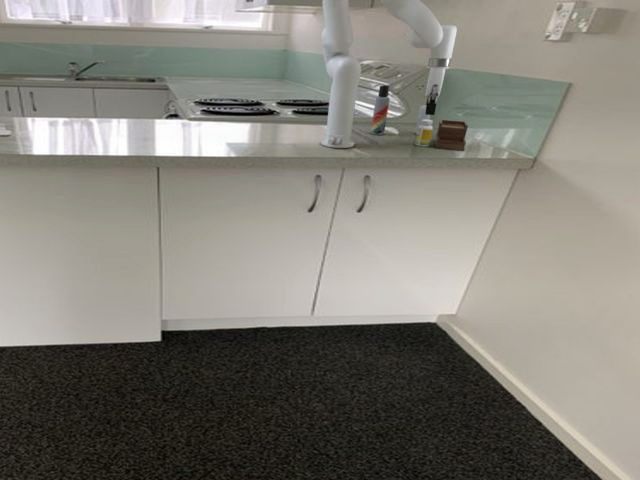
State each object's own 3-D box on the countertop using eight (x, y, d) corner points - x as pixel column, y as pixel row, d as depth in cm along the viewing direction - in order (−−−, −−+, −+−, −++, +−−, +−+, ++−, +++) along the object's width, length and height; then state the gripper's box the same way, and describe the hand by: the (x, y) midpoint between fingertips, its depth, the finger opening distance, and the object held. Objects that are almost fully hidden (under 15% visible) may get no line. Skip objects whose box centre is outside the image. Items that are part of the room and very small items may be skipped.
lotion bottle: (376, 135, 181) (384, 86, 172) (367, 133, 186) (374, 84, 176) (386, 134, 183) (394, 85, 174) (377, 132, 188) (385, 84, 179)
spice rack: (463, 151, 159) (469, 128, 155) (435, 148, 162) (440, 125, 158) (461, 143, 172) (466, 121, 168) (435, 140, 175) (439, 119, 171)
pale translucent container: (426, 134, 187) (432, 105, 182) (426, 136, 183) (432, 107, 178) (414, 133, 188) (420, 105, 183) (414, 135, 184) (420, 106, 179)
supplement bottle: (412, 144, 167) (417, 119, 162) (419, 143, 170) (424, 118, 165) (424, 147, 163) (429, 121, 159) (431, 145, 166) (437, 120, 162)
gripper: (428, 62, 161) (420, 109, 169) (428, 64, 147) (418, 115, 155) (449, 63, 159) (439, 110, 167) (451, 65, 144) (440, 117, 152)
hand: (429, 112), depth 161 cm, fingers open, 9 cm apart
